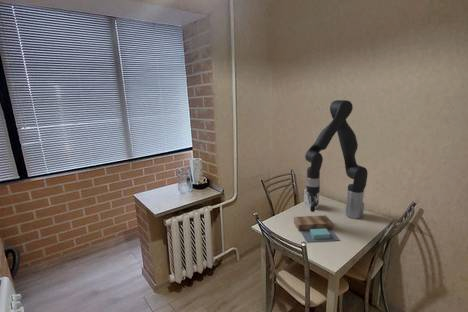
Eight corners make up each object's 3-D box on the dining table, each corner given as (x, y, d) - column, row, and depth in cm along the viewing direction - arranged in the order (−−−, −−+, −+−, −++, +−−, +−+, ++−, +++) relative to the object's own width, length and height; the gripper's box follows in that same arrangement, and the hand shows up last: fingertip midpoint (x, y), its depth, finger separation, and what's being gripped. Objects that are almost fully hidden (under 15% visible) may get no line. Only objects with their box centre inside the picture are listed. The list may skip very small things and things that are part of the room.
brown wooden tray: (325, 221, 154) (326, 215, 153) (332, 229, 144) (333, 223, 143) (293, 222, 153) (294, 216, 153) (298, 231, 144) (298, 224, 143)
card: (330, 234, 134) (330, 238, 135) (325, 228, 140) (325, 232, 141) (313, 235, 134) (313, 239, 135) (310, 229, 140) (309, 233, 141)
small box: (318, 207, 173) (319, 189, 170) (313, 210, 169) (314, 192, 166) (308, 203, 179) (309, 186, 176) (303, 206, 176) (304, 189, 173)
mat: (331, 230, 144) (331, 229, 144) (340, 240, 133) (340, 240, 133) (300, 231, 143) (300, 231, 143) (306, 242, 133) (306, 241, 132)
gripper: (323, 187, 140) (322, 215, 144) (315, 180, 153) (314, 206, 157) (310, 188, 140) (310, 216, 144) (303, 181, 153) (302, 207, 157)
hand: (312, 211), depth 150 cm, fingers closed
